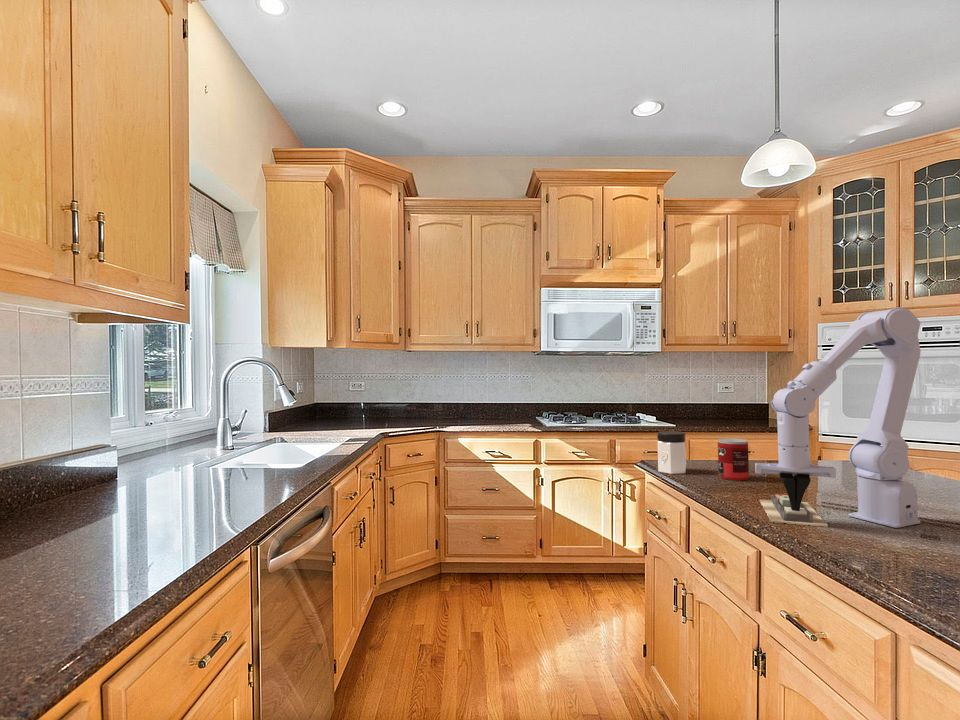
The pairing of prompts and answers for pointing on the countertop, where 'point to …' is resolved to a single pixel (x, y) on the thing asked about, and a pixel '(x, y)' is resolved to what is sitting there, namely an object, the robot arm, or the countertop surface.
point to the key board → (779, 515)
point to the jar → (671, 452)
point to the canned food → (733, 459)
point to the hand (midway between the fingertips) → (795, 509)
